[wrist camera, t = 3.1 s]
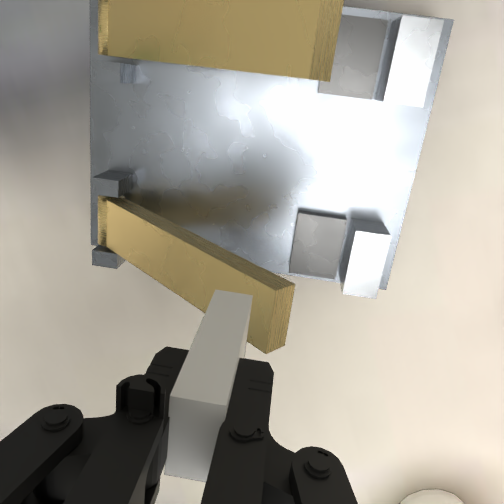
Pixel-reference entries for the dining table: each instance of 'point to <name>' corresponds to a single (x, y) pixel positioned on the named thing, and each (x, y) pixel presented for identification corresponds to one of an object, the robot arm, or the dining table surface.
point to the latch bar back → (196, 267)
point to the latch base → (275, 149)
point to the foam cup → (432, 497)
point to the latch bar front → (225, 34)
